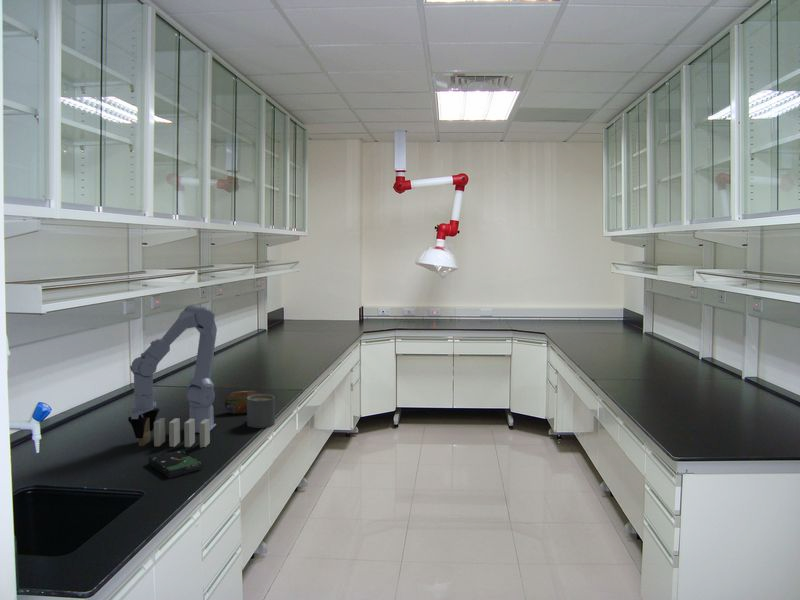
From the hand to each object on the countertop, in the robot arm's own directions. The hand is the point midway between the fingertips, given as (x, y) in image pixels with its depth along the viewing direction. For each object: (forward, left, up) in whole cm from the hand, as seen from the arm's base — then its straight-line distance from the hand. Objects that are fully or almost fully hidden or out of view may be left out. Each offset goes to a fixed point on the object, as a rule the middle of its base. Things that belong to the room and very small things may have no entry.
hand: (144, 434), depth 201 cm
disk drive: (+20, +18, -4) cm, 27 cm away
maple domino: (0, 0, -3) cm, 3 cm away
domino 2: (0, +10, -3) cm, 10 cm away
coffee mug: (-26, +32, -3) cm, 42 cm away
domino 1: (0, +5, -3) cm, 6 cm away
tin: (-40, +22, -3) cm, 46 cm away
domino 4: (0, +20, -3) cm, 20 cm away
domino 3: (0, +15, -3) cm, 15 cm away
